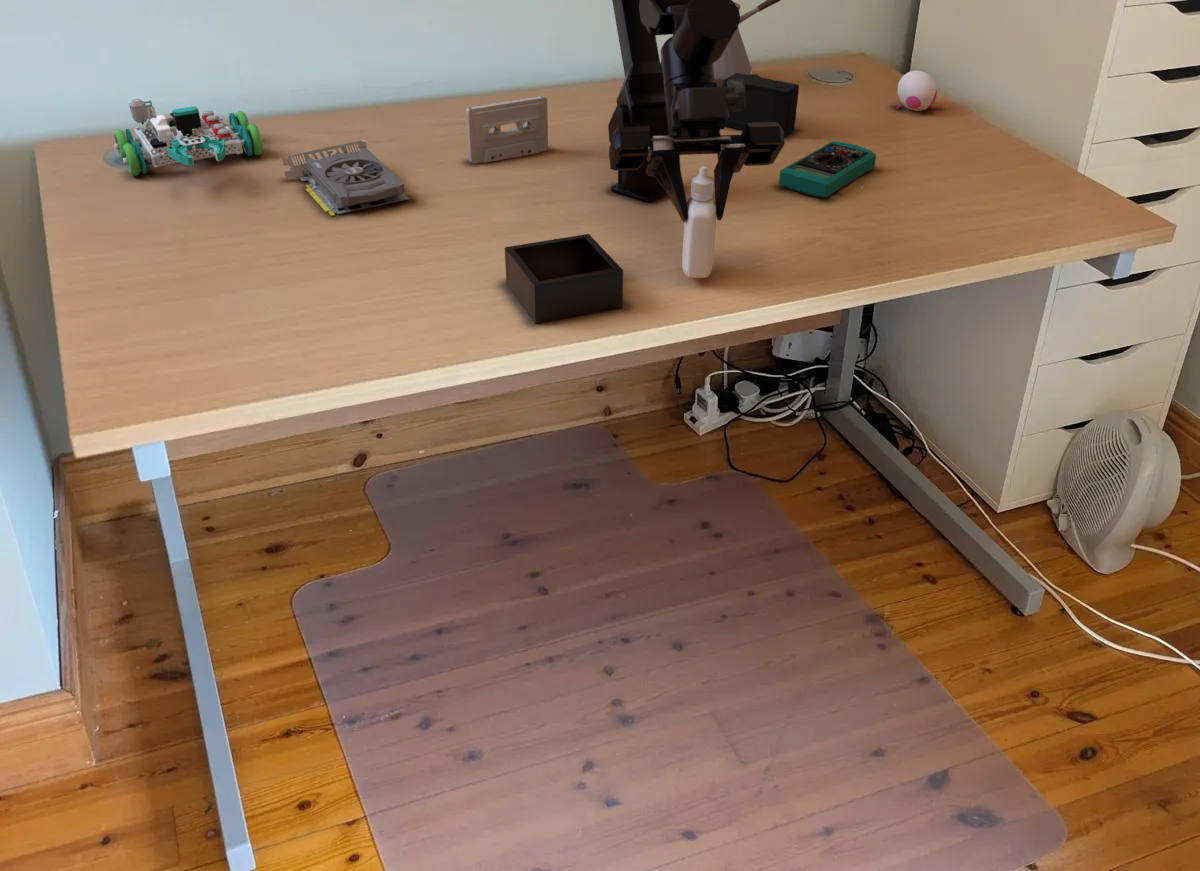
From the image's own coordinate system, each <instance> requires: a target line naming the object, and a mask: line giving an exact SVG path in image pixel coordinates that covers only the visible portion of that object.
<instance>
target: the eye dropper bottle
mask: <svg viewBox="0 0 1200 871" xmlns="http://www.w3.org/2000/svg"><path fill="white" fill-rule="evenodd" d="M714 189H715V188H714V177H711V176H709V173H708V167H707V166H705V165H701V166H700V168H699V171H698V175H695V176H693V177H692V178H691V184H690V197H689V198H688V199H687V200H686V201H687V210H688V220H687V222H683V237H682V238H683V240H682V257H681V259H682V260H681V268H682V271H683V273H684V275H685V276H687V277H688V278H692V279H706V278H708V277H709V276H710V275H711V273H712V271H713V266H714V265H713V264H714V251H715V239H716V238H715V237H716V224H717V216H716V204H715V199H714Z"/></svg>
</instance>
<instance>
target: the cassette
mask: <svg viewBox="0 0 1200 871" xmlns="http://www.w3.org/2000/svg"><path fill="white" fill-rule="evenodd" d="M465 115H466V116H465V117H466V130H467V132H466V134H467V151H468V161H469V163H471V164H473V165H476V164H481V163H482V164H483V163H484V164H485V163H491V162H497V161H503V160H507V159H508V160H509V159H513V158H519V157H523V156H530V155H535V154H538V153H541V152H542V153H544V152H546V151H548V150H549V125H548V124H549V123H548V122H549V121H548V98H547V97H546V96H544V95H539V96H533V97H527V98H520V99H513V100H507V101H502V102H496V103H488V104H483V105H476V106H470V107H467V108H466V109H465ZM510 124H511V125H512V124H514V126H515V128H514V129H508V130H502V129H501V128H502V127H501V126H504V125H510ZM491 129H492V130H491Z"/></svg>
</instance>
